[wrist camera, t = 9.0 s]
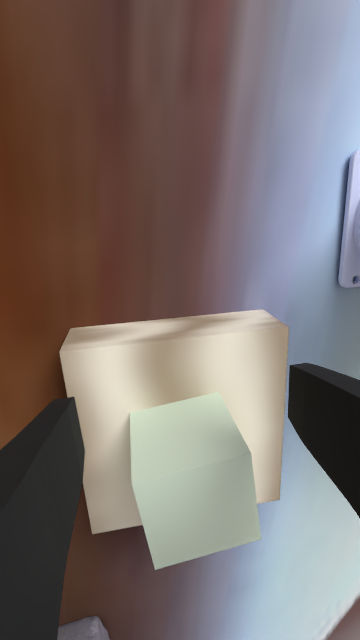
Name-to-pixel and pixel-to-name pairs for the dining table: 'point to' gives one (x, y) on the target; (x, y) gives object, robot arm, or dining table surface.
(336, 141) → the dining table surface
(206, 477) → the green block
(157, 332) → the beige panel
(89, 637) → the stone block
